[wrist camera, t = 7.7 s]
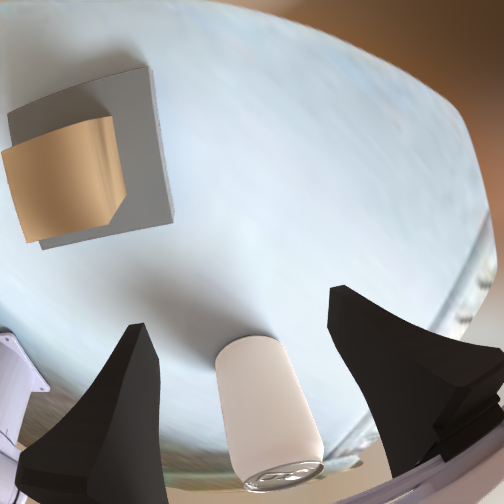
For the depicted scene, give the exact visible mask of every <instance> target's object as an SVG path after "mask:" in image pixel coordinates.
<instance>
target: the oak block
mask: <svg viewBox="0 0 504 504" xmlns="http://www.w3.org/2000/svg"><path fill="white" fill-rule="evenodd" d="M1 154H2V159H3V164H4V168H5V172H6V176H7V181H8V184H9V188H10V192H11V196H12V199H13V203H14V206H15V209H16V213H17V216H18V219H19V222H20V225H21V228H22V231H23V234H24V237H25V239H26V242H27V243H30V242H34V241H38V240H42V239H47V238H51V237H55V236H59V235H63V234H68V233H72V232H76V231H81V230H85V229H90V228H94V227H99V226H103V225H108V224H109V222H110V221H111V219H112V217H113V216H114V214H115V212H116V211H117V209H118V207H119V206H120V204H121V203H122V201H123V199H124V198H125V196H126V195H127V193H126V188H125V183H124V179H123V174H122V169H121V164H120V159H119V154H118V148H117V142H116V137H115V131H114V125H113V118H112V116H109V117H103V118H97V119H92V120H87V121H83V122H80V123H77V124H73V125H70V126H67V127H64V128H61V129H58V130H55V131H52V132H49V133H47V134H44V135H41V136H38V137H36V138H33V139H31V140H28V141H26V142H23V143H21V144H18V145H16V146H13V147H11V148H9V149H6V150H4V151H2V152H1Z"/></svg>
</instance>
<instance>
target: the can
mask: <svg viewBox="0 0 504 504" xmlns="http://www.w3.org/2000/svg"><path fill="white" fill-rule="evenodd" d="M215 370H216V377H217V384H218V391H219V397H220V403H221V409H222V415H223V421H224V426H225V432H226V437H227V443H228V448H229V453H230V458H231V462H232V467H233V469H234V472H235V473H236V474H237V476H238V477H239V478H240V479H241V480H242V481H243V488H244V489H245V490H247V491H250V492H257V493H264V492H274V491H280V490H285V489H288V488H292V487H295V486H298V485H301V484H303V483H306V482H308V481H310V480H312V479H313V478H315V477H317V476H318V475H319V474H321V473H322V472H323V471H324V469H325V464H324V463H323V462H322V458H323V452H324V446H323V442H322V440H321V437H320V434H319V432H318V429H317V427H316V424H315V422H314V419H313V417H312V414H311V412H310V409H309V407H308V404H307V402H306V399H305V397H304V394H303V392H302V389H301V387H300V384H299V382H298V379H297V377H296V374H295V372H294V369H293V367H292V364H291V362H290V359H289V357H288V355H287V352H286V350H285V348H284V346H283V345H282V344H281V343H280V342H279V341H277V340H275V339H273V338H270V337H266V336H260V335H252V336H246V337H242V338H239V339H237V340H234V341H233V342H231V343H229V344H228V345H227V346H226V347H224V349H222V351H221V352H220V353H219V354H218V356H217V358H216V361H215Z"/></svg>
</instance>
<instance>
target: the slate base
mask: <svg viewBox="0 0 504 504" xmlns="http://www.w3.org/2000/svg"><path fill="white" fill-rule="evenodd" d="M7 116H8V122H9V129H10V135H11V140H12V146H16V145H18V144H21V143H23V142H26V141H28V140H31V139H33V138H36V137H38V136H41V135H44V134H47V133H49V132H52V131H55V130H58V129H61V128H64V127H67V126H70V125H73V124H77V123H80V122H83V121H87V120H92V119H97V118H103V117H109V116H112V118H113V125H114V131H115V137H116V142H117V148H118V154H119V159H120V164H121V169H122V174H123V179H124V183H125V188H126V193H127V195H126V196H125V198H124V199H123V201H122V203H121V204H120V206H119V207H118V209H117V211H116V212H115V214H114V216H113V217H112V219H111V221H110V222H109V224H108V225H103V226H99V227H94V228H90V229H85V230H81V231H76V232H72V233H68V234H63V235H59V236H55V237H51V238H47V239H42V240H39V243H40V246H41V248H42V250H46V249H50V248H54V247H59V246H63V245H68V244H72V243H77V242H81V241H86V240H91V239H95V238H100V237H105V236H110V235H114V234H119V233H124V232H129V231H134V230H140V229H145V228H150V227H155V226H161V225H166V224H171V223H173V221H174V212H175V211H174V206H173V201H172V196H171V190H170V185H169V179H168V173H167V168H166V162H165V156H164V150H163V143H162V137H161V130H160V124H159V117H158V109H157V102H156V94H155V86H154V78H153V70H152V69H150V68H149V67H143V68H139V69H134V70H130V71H126V72H122V73H118V74H114V75H110V76H107V77H103V78H100V79H96V80H93V81H90V82H87V83H83V84H80V85H77V86H74V87H71V88H68V89H66V90H63V91H60V92H57V93H55V94H52V95H49V96H47V97H44V98H42V99H39V100H37V101H34V102H32V103H30V104H27V105H25V106H23V107H20V108H18V109H16V110H14V111H12V112H10V113H8V114H7Z"/></svg>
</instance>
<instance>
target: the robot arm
mask: <svg viewBox="0 0 504 504" xmlns="http://www.w3.org/2000/svg"><path fill="white" fill-rule="evenodd" d="M327 328H328V330H329V333H330V335H331V337H332V340H333V342H334V344H335V347H336V349H337V350H338V352H339V354H340V355H341V357H342V359H343V361H344V362H345V364H346V366H347V367H348V369H349V371H350V372H351V374H352V376H353V377H354V379H355V381H356V382H357V384H358V386H359V387H360V389H361V391H362V393H363V395H364V397H365V399H366V402H367V404H368V406H369V409H370V411H371V413H372V416H373V419H374V421H375V424H376V426H377V429H378V431H379V434H380V437H381V440H382V443H383V446H384V449H385V452H386V456H387V459H388V463H389V466H390V470H391V474H392V478H393V479H392V480H390V481H388V482H385V483H383V484H381V485H378V486H376V487H374V488H372V489H369V490H367V491H364V492H362V493H359V494H356V495H354V496H351V497H348V498H346V499H343V500H340V501H337V502H334V503H331V504H384V503H386V502H389V501H391V500H393V499H395V498H397V497H399V496H401V495H403V494H405V493H407V492H409V491H411V490H413V489H414V490H413V491H412V492H410V493H409V494H407V495H405V496H404V497H402V498H400V499H398V500H396V501H395V502H393V503H391V504H477V503H479V502H480V501H481V500H482V499H483V498H485V497H486V496H487V495H488V494H489V493H490V492H492V491H493V490H494V489H495V488H496V487H497V486H498V485H499V484H500V483H501V482H502V481H504V405H503V406H502V407H500V406H499V404H498V402H499V401H500V397H499V396H498V395H497V391H498V390H499V389H500V387H501V386H502V385H503V383H504V352H503V351H502V350H501V349H500V348H495V347H488V346H480V345H474V344H470V343H465V342H461V341H457V340H454V339H450V338H447V337H444V336H441V335H438V334H435V333H432V332H430V331H427V330H425V329H423V328H420V327H418V326H416V325H413V324H411V323H409V322H407V321H405V320H403V319H401V318H399V317H397V316H396V315H394V314H392V313H390V312H388V311H387V310H385V309H383V308H381V307H380V306H378V305H376V304H375V303H373V302H372V301H370V300H368V299H367V298H365V297H363V296H362V295H360V294H359V293H357V292H355V291H354V290H352V289H350V288H349V287H347V286H345V285H341V286H336V287H332V288H330V295H329V309H328V322H327ZM160 383H161V382H160V366H159V358H158V356H157V354H156V351H155V349H154V347H153V344H152V342H151V339H150V337H149V334H148V332H147V329H146V327H145V324H144V323H139V324H132V325H129V326H128V327H127V329H126V330H125V332H124V334H123V335H122V337H121V339H120V340H119V342H118V344H117V346H116V347H115V349H114V351H113V352H112V354H111V355H110V357H109V359H108V360H107V362H106V364H105V365H104V367H103V368H102V370H101V371H100V373H99V374H98V376H97V377H96V379H95V380H94V382H93V383H92V385H91V386H90V387H89V389H88V390H87V391H86V393H85V394H84V395H83V396H82V397H81V399H80V400H79V401H78V402H77V403H76V405H75V406H74V407H73V408H72V409H71V410H70V411H69V412H68V413H67V414H66V415H65V416H64V417H63V418H62V419H61V421H59V422H58V423H57V424H56V425H55V426H54V427H53V428H52V429H51V430H50V431H49V432H47V433H46V434H45V435H44V436H43V437H41V438H40V439H39V440H38V441H36V442H35V443H33V444H32V445H31V446H29V447H28V448H27V449H25V450H24V451H22V452H21V451H20V450H18V449H17V448H16V443H17V439H18V435H19V431H20V427H21V424H22V420H23V417H24V413H25V410H26V406H27V403H28V400H29V397H30V394H31V392H49V391H50V387H49V385H48V384H47V383H46V381H45V380H44V379H43V377H42V376H41V374H40V373H39V372H38V370H37V369H36V368H35V366H34V365H33V363H32V362H31V360H30V359H29V357H28V356H27V354H26V353H25V351H24V350H23V348H22V347H21V345H20V344H19V342H18V340H17V339H16V337H15V336H14V334H12V333H0V504H25V502H26V500H27V496H29V497H30V498H32V499H33V500H35V501H37V502H38V503H40V504H169V503H168V498H167V493H166V489H165V483H164V477H163V471H162V464H161V456H160V447H159V405H160Z"/></svg>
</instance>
